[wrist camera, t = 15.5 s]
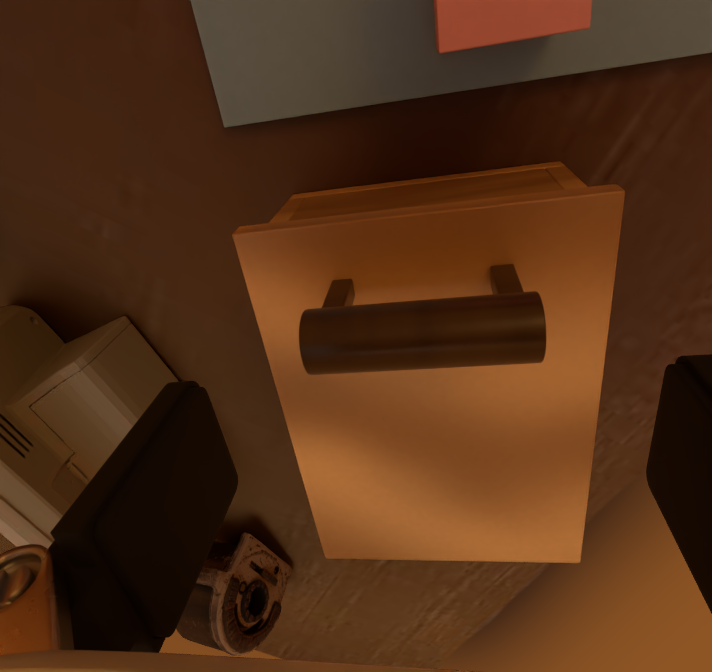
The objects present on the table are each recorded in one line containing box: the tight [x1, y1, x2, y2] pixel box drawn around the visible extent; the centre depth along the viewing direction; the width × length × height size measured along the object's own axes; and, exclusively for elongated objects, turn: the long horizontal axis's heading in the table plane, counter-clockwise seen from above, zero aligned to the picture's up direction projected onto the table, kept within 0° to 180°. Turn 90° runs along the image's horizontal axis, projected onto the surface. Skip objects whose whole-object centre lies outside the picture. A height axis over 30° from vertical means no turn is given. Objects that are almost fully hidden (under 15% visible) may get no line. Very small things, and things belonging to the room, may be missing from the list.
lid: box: [232, 184, 625, 563], centre depth 17 cm, size 16×12×5 cm
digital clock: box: [0, 305, 179, 549], centre depth 26 cm, size 16×9×11 cm, turn 16°
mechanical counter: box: [176, 533, 292, 656], centre depth 35 cm, size 7×13×10 cm
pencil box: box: [269, 161, 587, 223], centre depth 22 cm, size 16×12×7 cm
